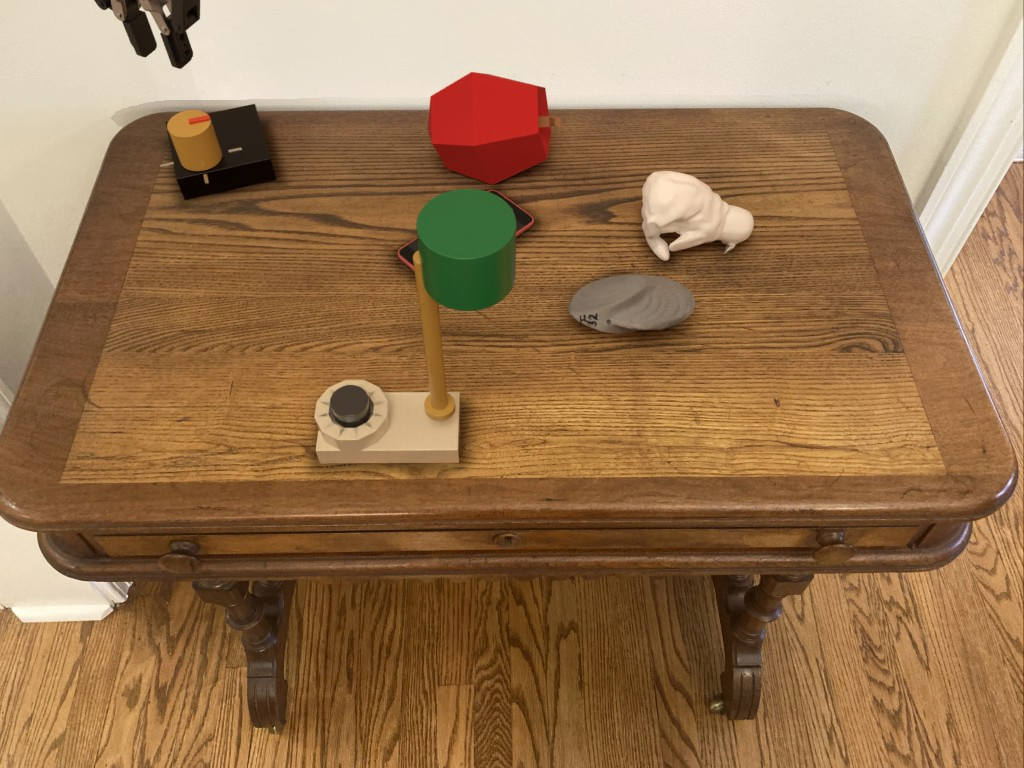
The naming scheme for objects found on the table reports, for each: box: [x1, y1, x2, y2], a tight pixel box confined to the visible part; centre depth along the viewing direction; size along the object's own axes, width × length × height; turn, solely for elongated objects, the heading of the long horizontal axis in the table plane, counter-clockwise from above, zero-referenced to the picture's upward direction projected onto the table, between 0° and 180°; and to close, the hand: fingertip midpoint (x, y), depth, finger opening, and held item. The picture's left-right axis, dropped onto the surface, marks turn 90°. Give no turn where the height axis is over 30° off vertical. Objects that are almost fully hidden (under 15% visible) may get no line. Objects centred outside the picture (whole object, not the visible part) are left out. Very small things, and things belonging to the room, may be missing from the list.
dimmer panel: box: [159, 103, 277, 201], centre depth 94 cm, size 11×12×3 cm
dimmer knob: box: [166, 109, 222, 171], centre depth 90 cm, size 4×4×5 cm
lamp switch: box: [330, 385, 371, 427], centre depth 72 cm, size 3×3×2 cm
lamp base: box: [313, 379, 462, 464], centre depth 74 cm, size 12×6×4 cm, turn 91°
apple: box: [427, 71, 562, 186], centre depth 92 cm, size 12×12×15 cm
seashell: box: [567, 273, 696, 335], centre depth 81 cm, size 12×6×10 cm
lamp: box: [413, 188, 517, 421], centre depth 64 cm, size 8×6×22 cm
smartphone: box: [397, 189, 535, 273], centre depth 89 cm, size 7×1×14 cm
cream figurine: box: [640, 170, 755, 262], centre depth 86 cm, size 6×8×12 cm
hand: (164, 57), depth 82 cm, fingers open, 3 cm apart
